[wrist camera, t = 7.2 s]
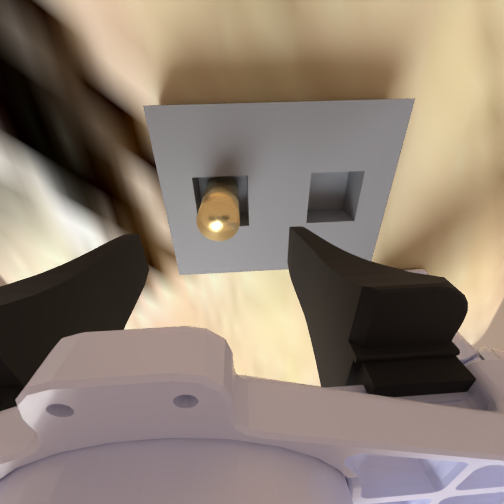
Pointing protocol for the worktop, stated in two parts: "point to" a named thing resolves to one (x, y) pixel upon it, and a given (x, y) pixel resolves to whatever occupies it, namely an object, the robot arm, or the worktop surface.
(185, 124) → the bore block
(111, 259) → the robot arm
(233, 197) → the brass pin
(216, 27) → the worktop surface
